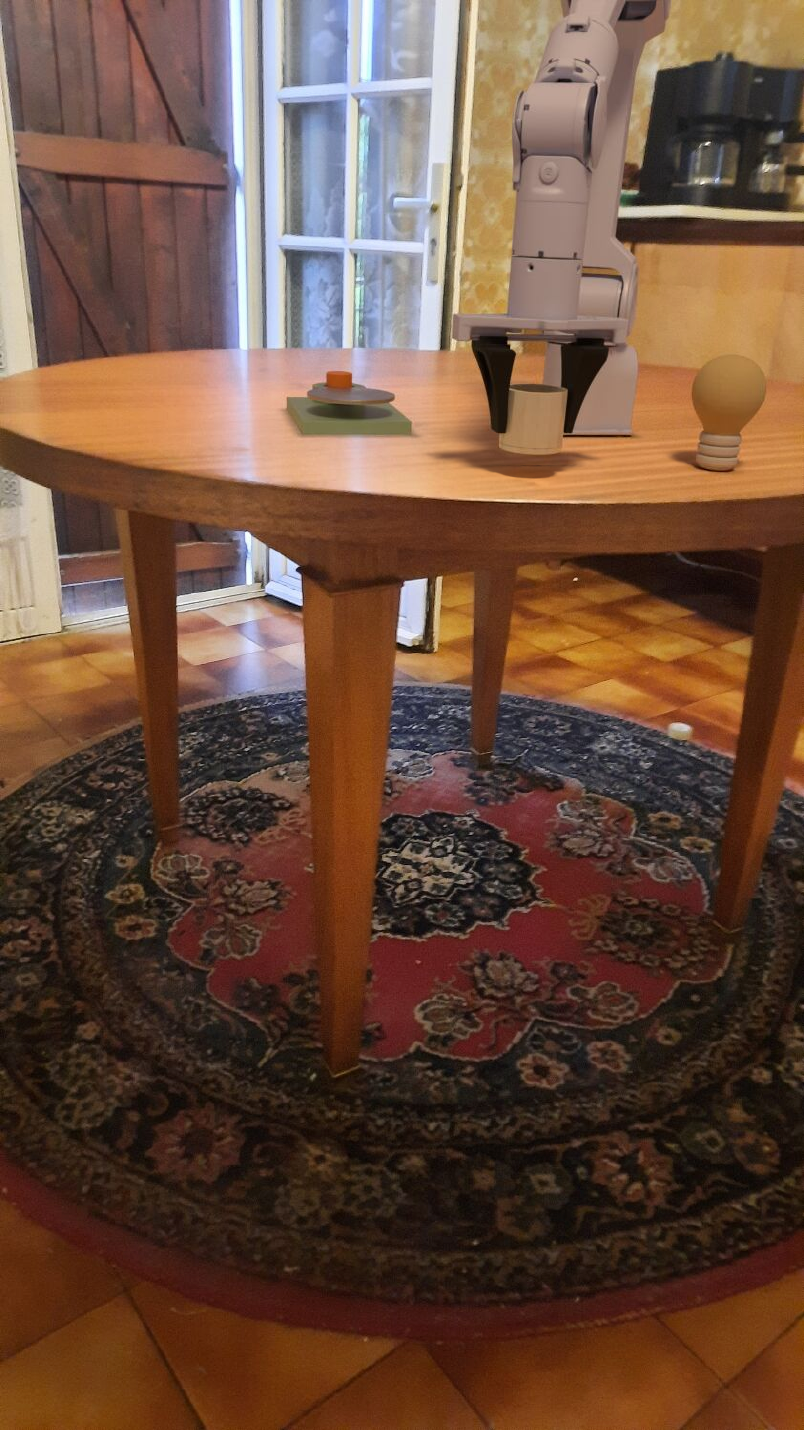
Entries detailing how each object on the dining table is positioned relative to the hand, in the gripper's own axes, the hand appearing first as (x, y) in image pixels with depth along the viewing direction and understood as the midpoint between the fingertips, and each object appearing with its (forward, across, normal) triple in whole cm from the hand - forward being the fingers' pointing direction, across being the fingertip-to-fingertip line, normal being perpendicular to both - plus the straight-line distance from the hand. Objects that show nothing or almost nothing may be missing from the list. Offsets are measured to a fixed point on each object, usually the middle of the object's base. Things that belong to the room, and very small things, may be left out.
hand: (531, 431), depth 87 cm
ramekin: (+1, 0, 0) cm, 1 cm away
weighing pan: (+1, -12, +22) cm, 25 cm away
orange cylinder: (+1, -12, +30) cm, 32 cm away
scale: (+4, -12, +25) cm, 28 cm away
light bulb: (+4, +19, +2) cm, 19 cm away
